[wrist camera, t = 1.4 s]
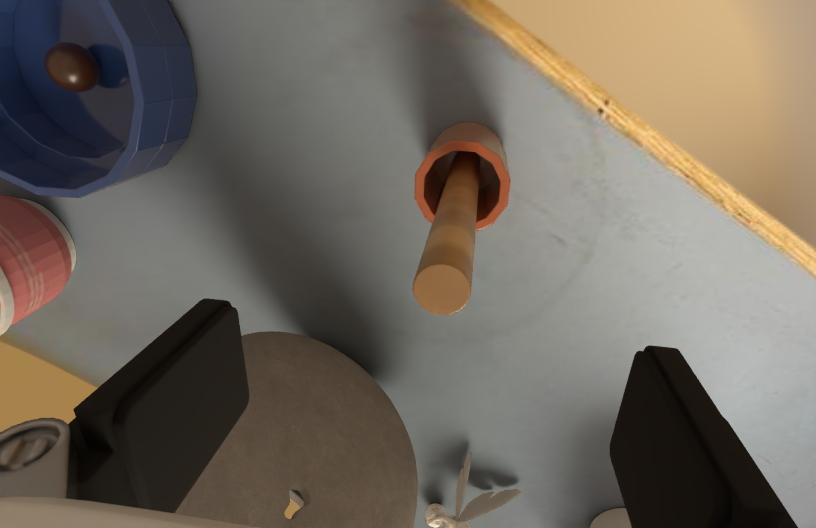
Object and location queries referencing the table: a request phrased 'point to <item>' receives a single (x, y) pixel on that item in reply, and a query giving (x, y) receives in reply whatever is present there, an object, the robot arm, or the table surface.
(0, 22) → the bowl
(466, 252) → the stick
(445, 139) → the holder
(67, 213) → the table surface
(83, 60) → the bead
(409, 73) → the table surface
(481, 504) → the fairy figurine
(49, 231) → the container
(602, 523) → the mug
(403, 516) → the grey-brown thick disc
